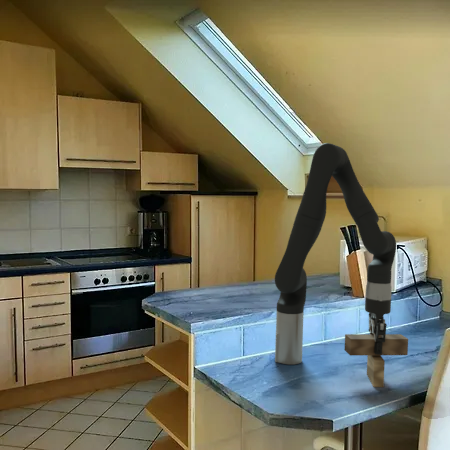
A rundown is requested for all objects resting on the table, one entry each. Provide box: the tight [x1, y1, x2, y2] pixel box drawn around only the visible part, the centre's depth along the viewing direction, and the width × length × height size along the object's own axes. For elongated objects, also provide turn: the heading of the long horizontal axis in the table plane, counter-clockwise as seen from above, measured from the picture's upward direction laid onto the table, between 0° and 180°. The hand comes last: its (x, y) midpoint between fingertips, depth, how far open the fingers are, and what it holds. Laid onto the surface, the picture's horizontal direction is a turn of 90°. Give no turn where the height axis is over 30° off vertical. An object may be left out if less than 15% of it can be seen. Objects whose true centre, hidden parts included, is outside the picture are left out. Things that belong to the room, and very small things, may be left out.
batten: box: [344, 333, 409, 356], centre depth 148 cm, size 18×5×5 cm, turn 95°
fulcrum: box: [366, 355, 385, 388], centre depth 148 cm, size 3×10×8 cm, turn 174°
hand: (375, 350), depth 148 cm, fingers closed on batten, 5 cm apart
